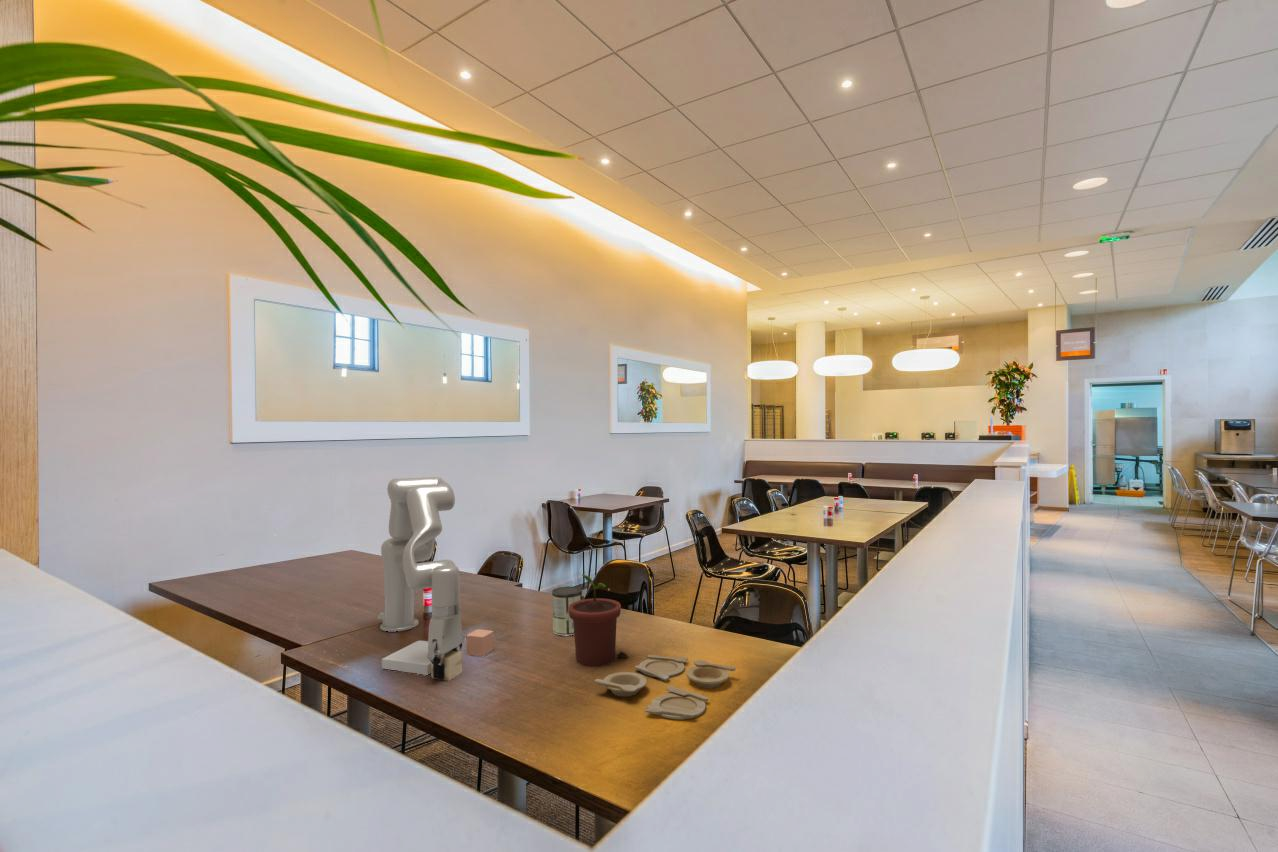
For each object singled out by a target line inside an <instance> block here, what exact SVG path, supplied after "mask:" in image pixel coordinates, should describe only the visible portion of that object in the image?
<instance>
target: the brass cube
mask: <svg viewBox="0 0 1278 852" xmlns="http://www.w3.org/2000/svg"><path fill="white" fill-rule="evenodd" d="M439 653H440V652H439ZM437 658H438V659H439V658H440V655H437ZM442 664H444V679H445V680H444V681H447V680H450V681H451V680H453V679H454V678H456V677H457V676H459V675H461V674H462V673H463V651H462V652H461V651H453V650H451V651H449V652H447V653H445V654H444V659H443V663H442ZM460 673H461V674H460ZM430 675H431V676H430V677H432V678H431V679H433V678H434V677H433V664H432V662H431V674H430ZM455 676H456V677H455ZM452 678H453V679H452Z"/></svg>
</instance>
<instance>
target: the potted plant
mask: <svg viewBox="0 0 1278 852" xmlns="http://www.w3.org/2000/svg"><path fill="white" fill-rule="evenodd" d="M581 576H582V577H583V578H584V579H585V580H586V581H587V582H588V583H590V584H591V585H592V587H593V598H586V599H582V600H579V601H576V602H573V603H572V604H570V605H569V607H568V608H569V616H570V618H571V619H572V620H573V625H574V646H575V647H574V648H575V660H576V662H577V663H578V664H579V663H580V664H579V665H581V664H582V665H581V666H585V667H602V665H603V666H606V665H609V664H611V663H613V662H614V661H615V658H616V645H617V643H616V642H617V641H616V640H617V621H618V620H617V619H618V618H619V617H620V615H621V609H622V604H621V603H620V602H619V601H617V600H614V599H609V598H597V597H596V592H597V591H596V589H600V588H601V589H605V588H607V586H606V584H604V583H602V582H599V583H598V585H597V586H596V585H595V583H594V582H593V580H592V578H591V577H590V576H588V574H587V575H586V574H581ZM628 658H629V656H628V654H627V653H625V652H623V651H620V652H619V653H618V654H617V660H620V661H622V660H627V659H628Z"/></svg>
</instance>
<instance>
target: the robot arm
mask: <svg viewBox="0 0 1278 852" xmlns="http://www.w3.org/2000/svg"><path fill="white" fill-rule="evenodd" d="M386 489H387V496H388V498H389V500H390V511H389V512H390V513H389V521H388V534H389V536H390V537H391V538H388V539H386V540H384V541H383V542H382V544H381V548H380V552H381V559H382V567H383V577H384V578H383V580H384V581H383V582H384V583H383V584H384V611H383V612H380V613H379V614H378V615H377V617H376V618H377V620H379V621H381V620H382V623H381V624H380V627H379V629H380V630H381V631H382V632H386V631H388V632H387V633H397V632H396V631H398V632H404V631H408V630H410V629H411V630H412V629H414V628H416V627H417V626H418V625H419V620H418V618H416V617H415V609H414V608H415V607H414V606H415V605H414V603H415V602H414V601H415V600H414V599H415V598H414V591H420V590H427V589H431V617H430V620H429V625H428V638H427V641H428V654H427V658H428V659H429V660H430V661H431V662H432V664H433V677H434V678H436V679H435V680H440V679H444V664H442V663H443V659H444V654H445V653H447V652H449V651H451V650H453V651H461V647H463V644H464V641H465V640H466V635H464V634H463V625H462V616H461V611H460V610H461V607H460V605H461V604H460V603H461V601H460V598H461V597H460V570H459V568H458V566H457V564H456V563H455V562H454V561H453V560H451V559H441V560H433V561H428V560H430V559H431V558H432V556H433V554H434V553H433V552H434V548H435V543H436V538H437V537H438V536H439V535H440V534H441V533H442V531H443V525H442V522H441V517H440V512H445V511H450V510H452V509H453V508H454V506H455V503H456V497H455V493H454V491H453V488H452V486H451V485H450V484H449V483H448V482H447V481H445V480H444V479H443V478H441V477H438V476H433V477H432V476H429V477H426V476H425V477H409V478H406V477H405V478H392V479H390V481H388V484H387V488H386ZM418 562H419V563H418ZM438 650H439V651H440V653H438ZM437 655H440V658H439V659H438V658H437Z"/></svg>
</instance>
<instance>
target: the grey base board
mask: <svg viewBox="0 0 1278 852" xmlns="http://www.w3.org/2000/svg"><path fill="white" fill-rule="evenodd" d="M462 647H463V646H462ZM462 647H461V652H462V653H463V651H462V650H463V649H462ZM439 652H440V651H439V650H438V653H439ZM427 654H428V640H417V641H415V642H412V643H411V644H409V645H407V646H404V647H402V648H401V649H398V650H397V651H395V652H392V653H391V654H389V655H387V656H385V657H383V658H381V669H382V668H385V669H391V670H398V671H404V672H412V673H417V674H416V675H419V674H423V675H422V676H426V675H428V674H430V673H431V661H430V660H429V659H428V658H427ZM404 672H403V673H404ZM430 675H431V674H430ZM428 676H429V675H428Z"/></svg>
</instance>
